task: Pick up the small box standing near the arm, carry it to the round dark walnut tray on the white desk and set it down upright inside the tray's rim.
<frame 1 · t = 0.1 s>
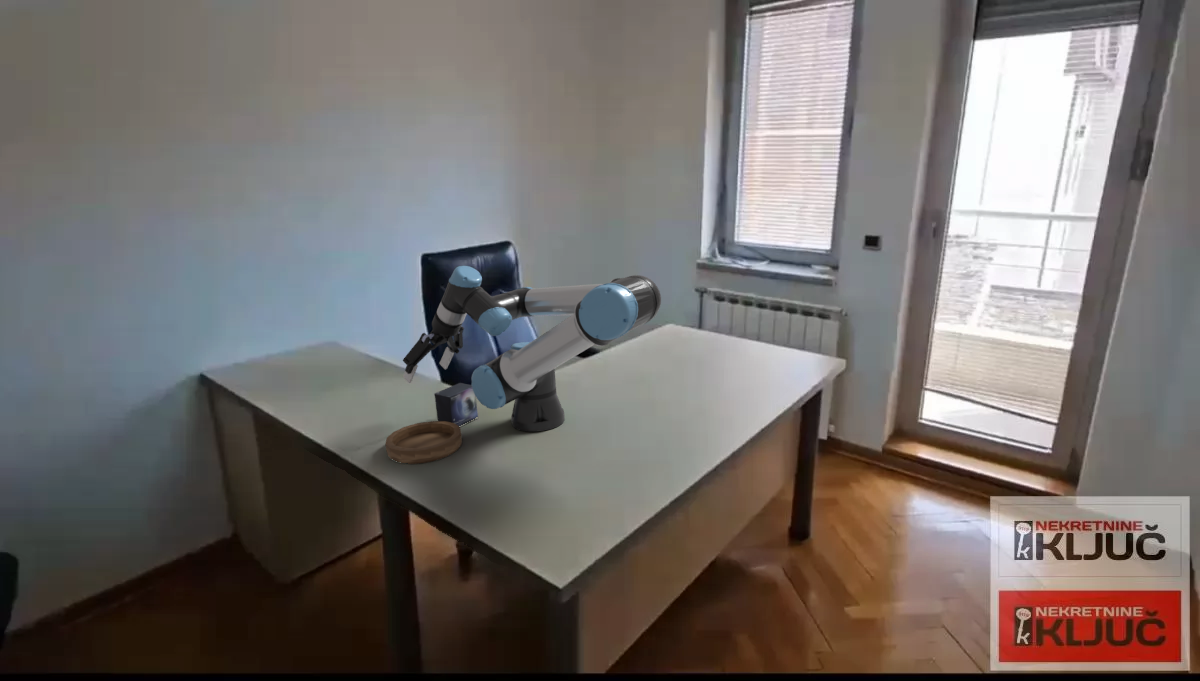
hand: (425, 372, 177), 15 cm above the table, tool tilted 35°, fingers open, 13 cm apart
small box: (458, 423, 179), on the table
tray: (425, 447, 163), on the table
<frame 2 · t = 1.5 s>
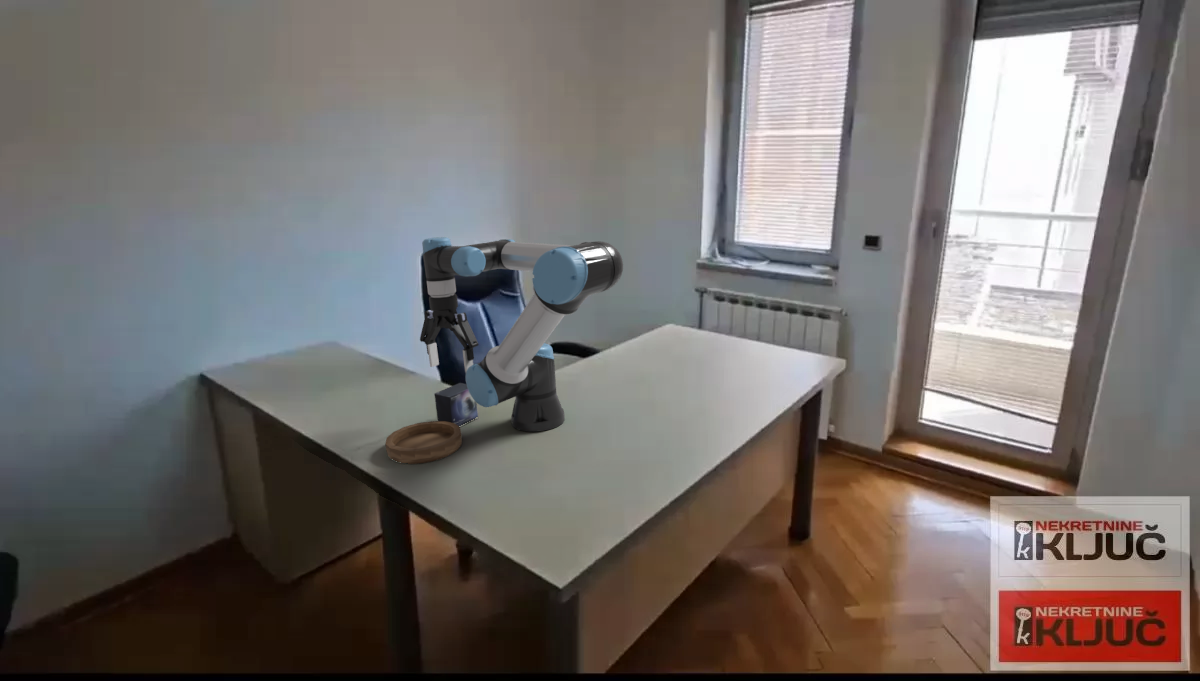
hand: (451, 368, 175), 17 cm above the table, tool pointing down, fingers open, 13 cm apart
nothing on the table moved.
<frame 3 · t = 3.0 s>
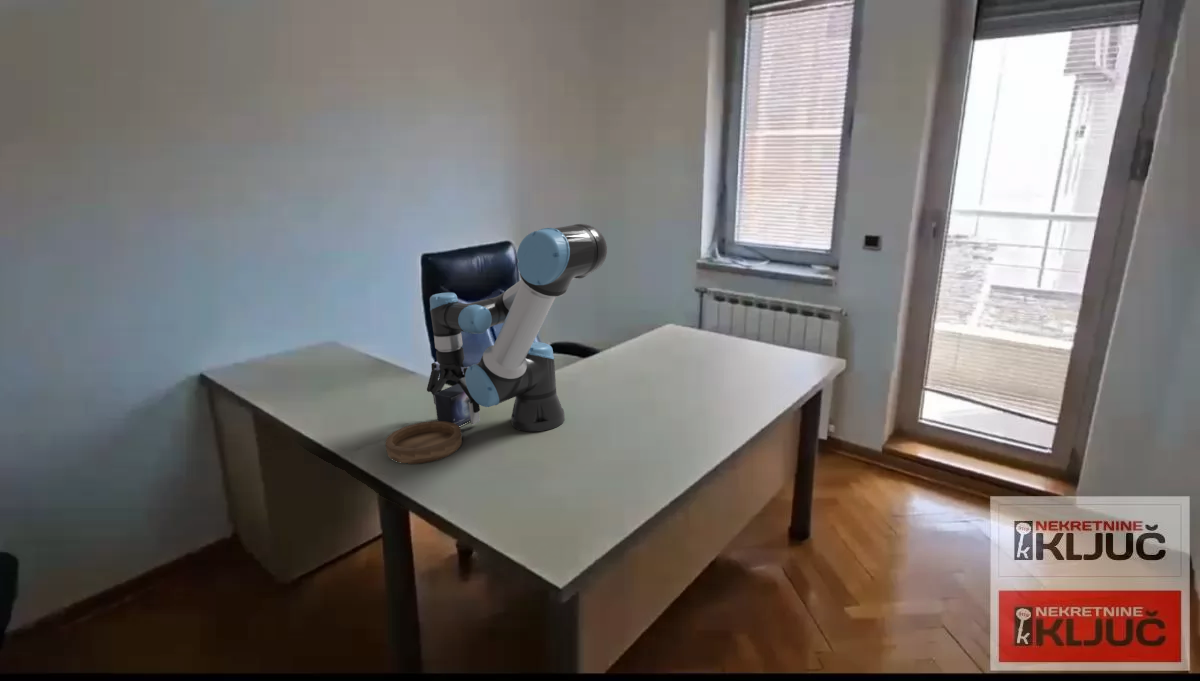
hand: (458, 418, 179), 1 cm above the table, tool pointing down, fingers open, 13 cm apart
nothing on the table moved.
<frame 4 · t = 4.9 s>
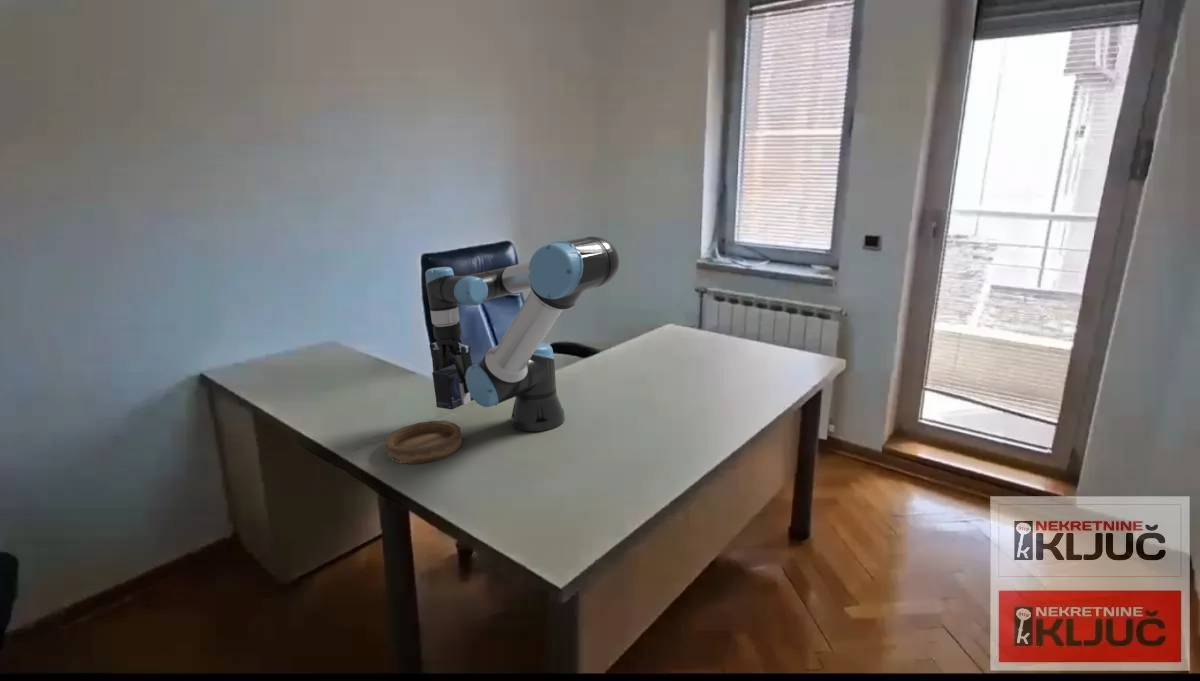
hand: (457, 401, 177), 7 cm above the table, tool pointing down, fingers closed on small box, 6 cm apart
small box: (457, 403, 177), point 6 cm above the table, touching gripper
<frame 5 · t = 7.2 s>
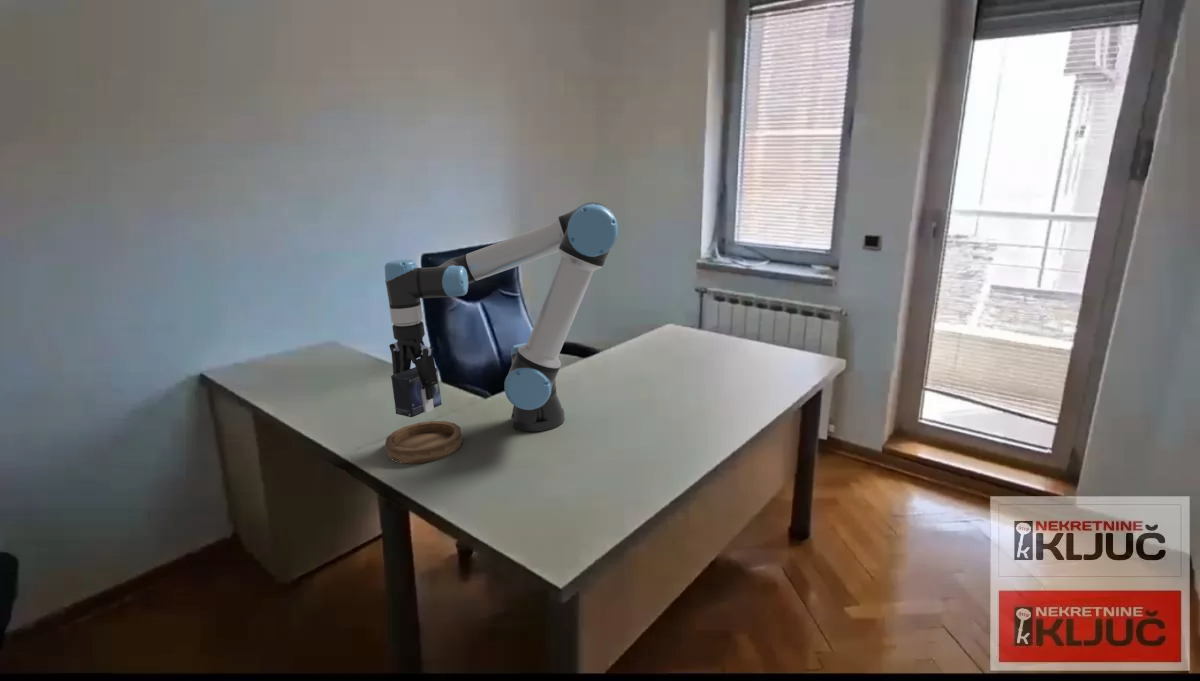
hand: (419, 408, 160), 11 cm above the table, tool pointing down, fingers closed on small box, 6 cm apart
small box: (419, 410, 161), point 11 cm above the table, touching gripper
when the fingers open (2 cm above the table, at t = 9.4 s): small box stays where it is, resting on tray.
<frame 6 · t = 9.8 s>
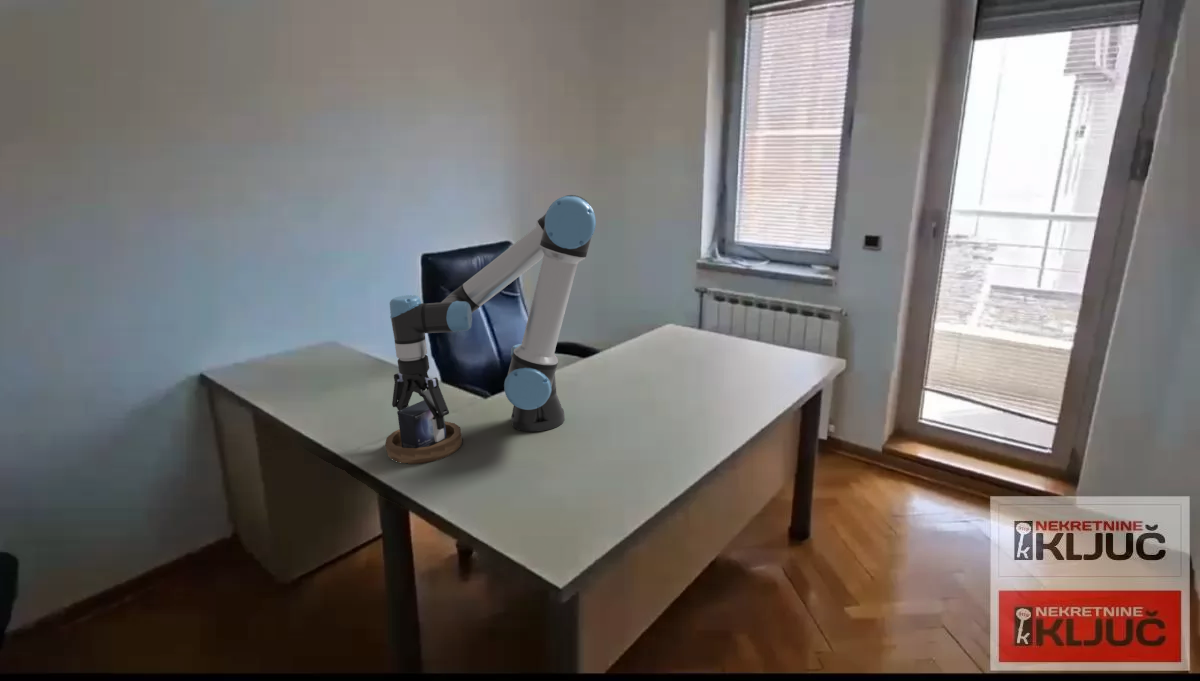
hand: (423, 436, 163), 3 cm above the table, tool pointing down, fingers open, 11 cm apart
small box: (425, 444, 163), point 1 cm above the table, touching tray
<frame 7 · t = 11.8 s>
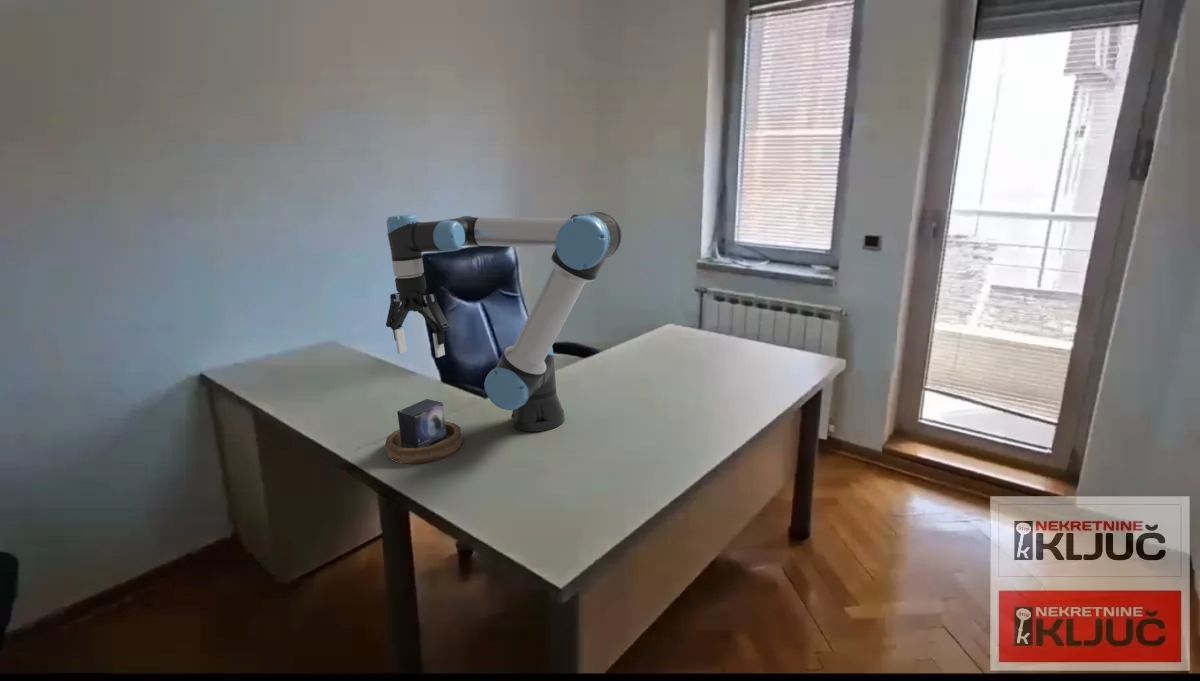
hand: (421, 354, 165), 23 cm above the table, tool pointing down, fingers open, 13 cm apart
nothing on the table moved.
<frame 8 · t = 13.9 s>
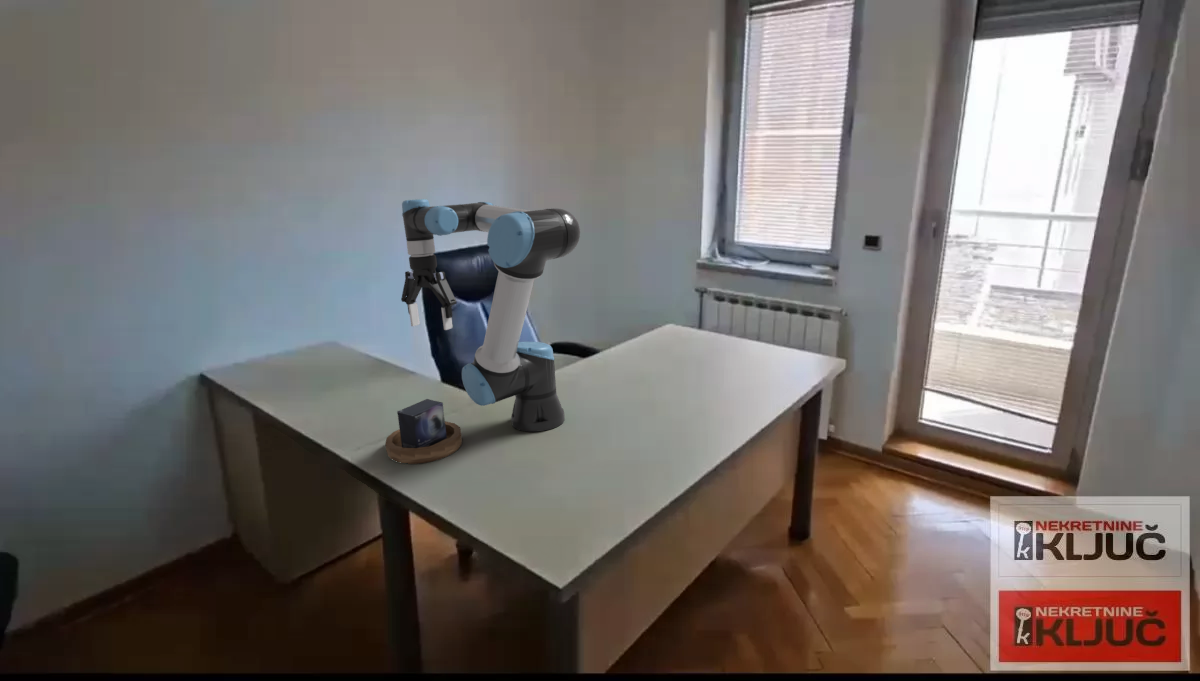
hand: (431, 327, 181), 27 cm above the table, tool pointing down, fingers open, 13 cm apart
nothing on the table moved.
at the end: small box 0.1 cm from the tray (horizontally); small box point 1.0 cm above the table; small box tilted 0° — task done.
